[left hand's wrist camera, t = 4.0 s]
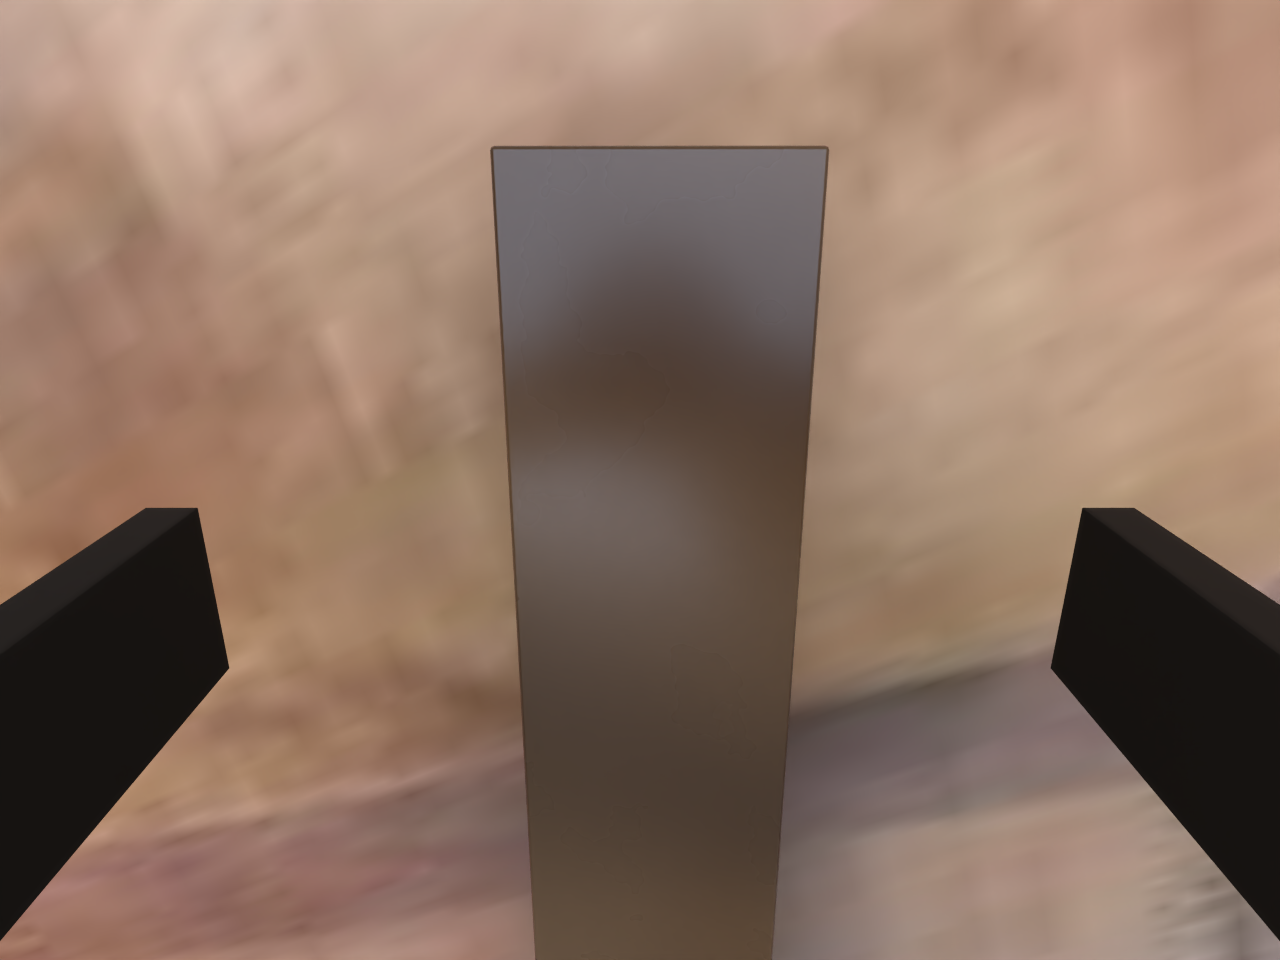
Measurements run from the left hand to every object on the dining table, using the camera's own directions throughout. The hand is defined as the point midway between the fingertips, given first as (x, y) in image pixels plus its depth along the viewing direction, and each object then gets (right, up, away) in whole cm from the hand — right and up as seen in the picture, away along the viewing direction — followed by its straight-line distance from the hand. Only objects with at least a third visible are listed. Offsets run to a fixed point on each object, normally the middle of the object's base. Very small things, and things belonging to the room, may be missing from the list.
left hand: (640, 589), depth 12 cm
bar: (0, -24, +17) cm, 29 cm away
